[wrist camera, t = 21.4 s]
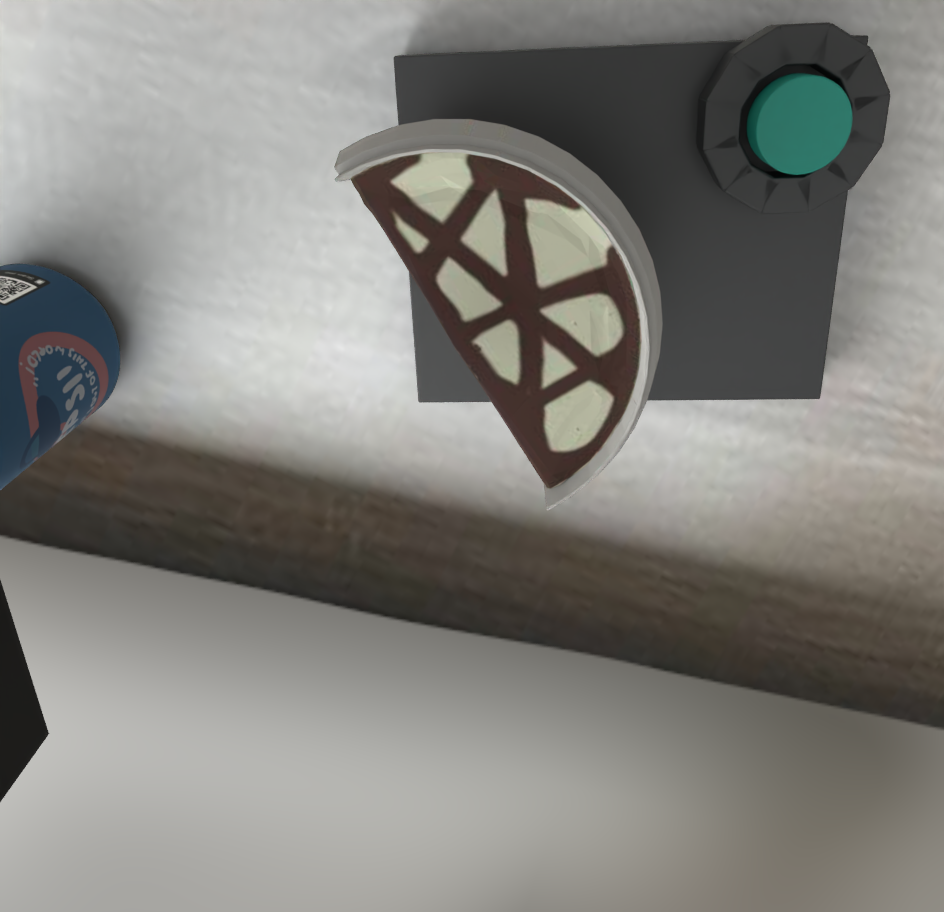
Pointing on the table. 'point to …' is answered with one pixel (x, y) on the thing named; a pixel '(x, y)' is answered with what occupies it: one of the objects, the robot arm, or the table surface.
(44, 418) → the soda can
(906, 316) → the table surface
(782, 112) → the button
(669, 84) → the grey button box
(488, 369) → the food container
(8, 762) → the robot arm
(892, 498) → the table surface
